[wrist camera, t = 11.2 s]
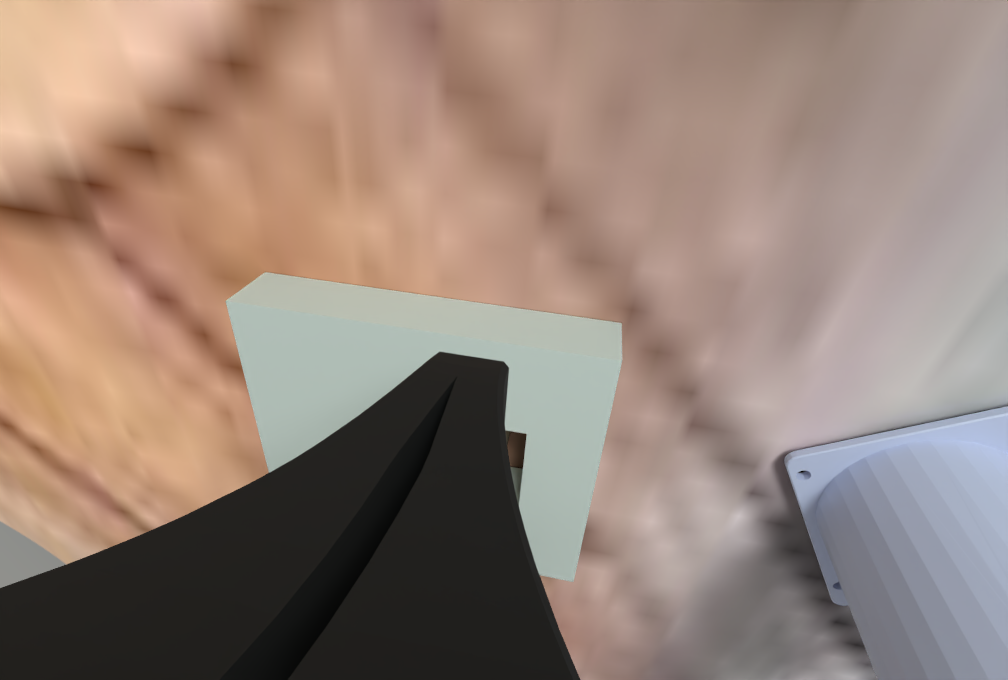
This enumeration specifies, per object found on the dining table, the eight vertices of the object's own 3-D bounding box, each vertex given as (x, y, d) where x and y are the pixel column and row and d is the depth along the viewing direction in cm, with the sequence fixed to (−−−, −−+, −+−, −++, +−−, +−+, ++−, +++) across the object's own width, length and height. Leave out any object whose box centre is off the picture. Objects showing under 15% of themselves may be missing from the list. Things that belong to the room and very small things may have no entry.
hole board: (621, 323, 19) (621, 361, 17) (577, 535, 25) (573, 581, 23) (265, 272, 21) (225, 300, 19) (307, 483, 27) (281, 522, 25)
